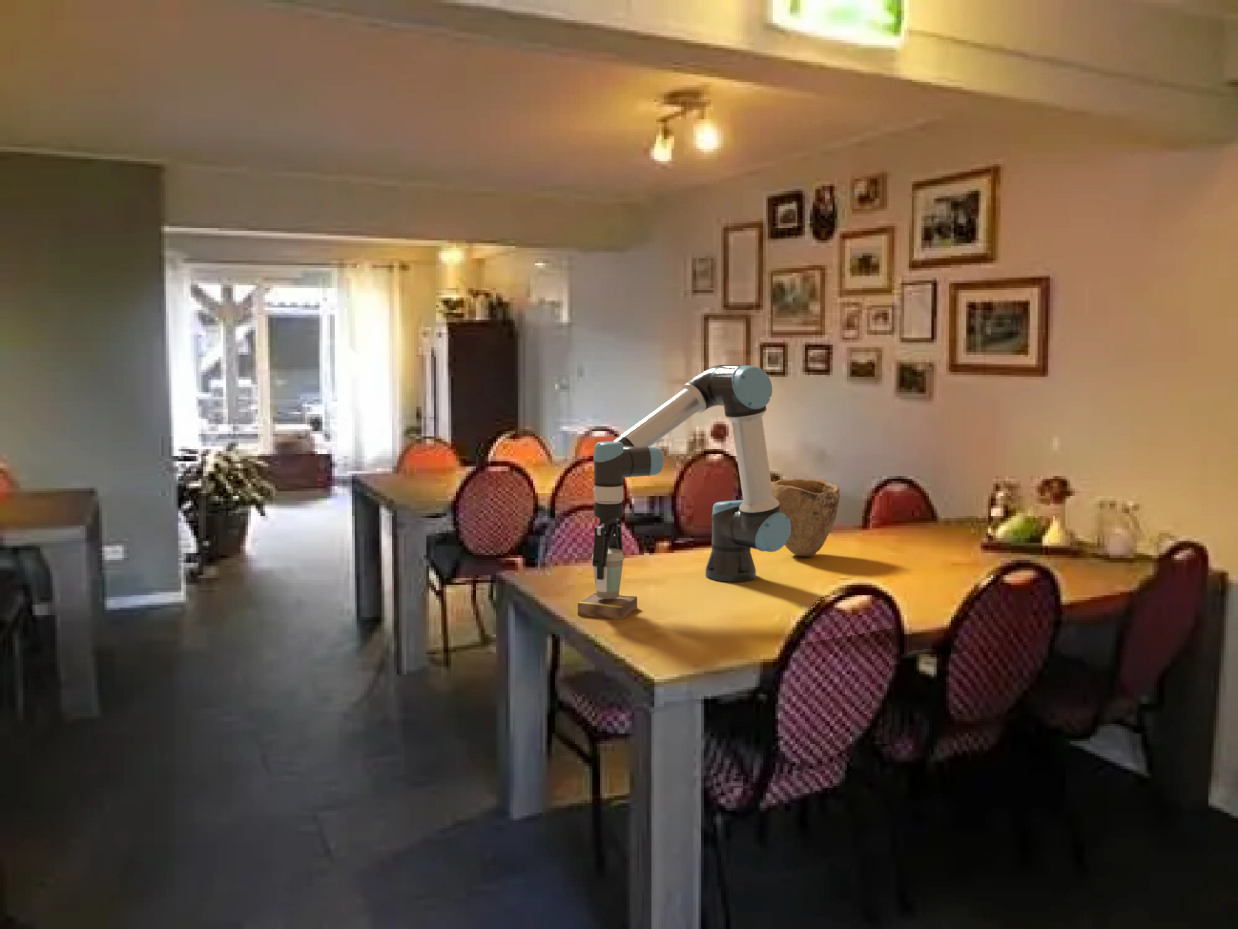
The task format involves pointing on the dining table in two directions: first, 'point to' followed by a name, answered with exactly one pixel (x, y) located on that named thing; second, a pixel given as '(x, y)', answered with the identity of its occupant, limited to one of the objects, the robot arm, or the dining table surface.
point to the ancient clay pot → (807, 512)
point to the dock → (607, 606)
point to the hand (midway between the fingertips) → (607, 587)
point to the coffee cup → (612, 573)
